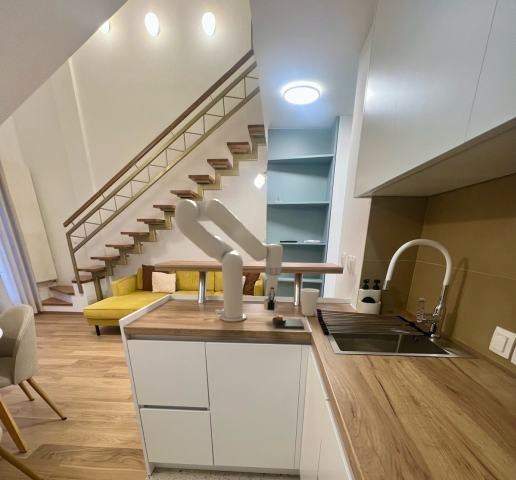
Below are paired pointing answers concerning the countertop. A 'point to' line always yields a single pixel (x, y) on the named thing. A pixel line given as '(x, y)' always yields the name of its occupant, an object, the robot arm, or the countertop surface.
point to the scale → (288, 323)
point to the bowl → (267, 304)
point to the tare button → (279, 317)
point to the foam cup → (309, 300)
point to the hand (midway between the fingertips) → (270, 307)
